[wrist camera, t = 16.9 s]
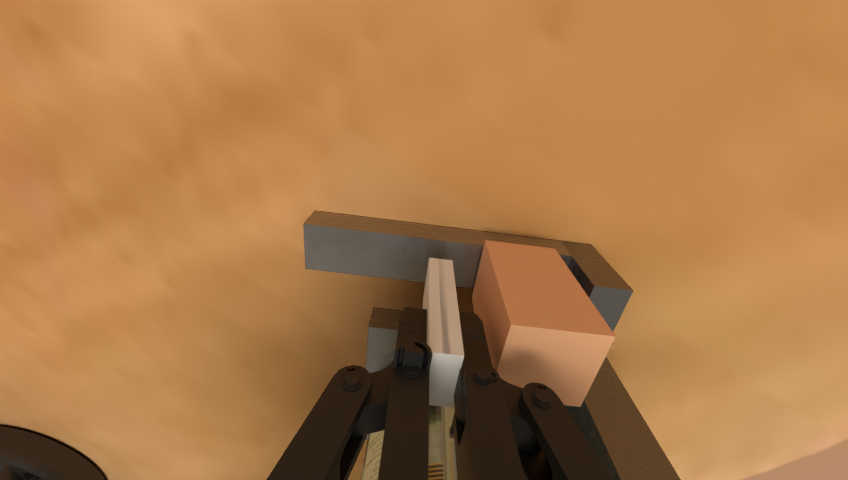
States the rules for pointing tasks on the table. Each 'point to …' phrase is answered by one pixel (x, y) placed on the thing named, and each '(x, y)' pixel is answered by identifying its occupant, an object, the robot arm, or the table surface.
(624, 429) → the tray
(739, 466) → the table surface
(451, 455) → the coffee can
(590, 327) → the lever knob
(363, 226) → the rail
